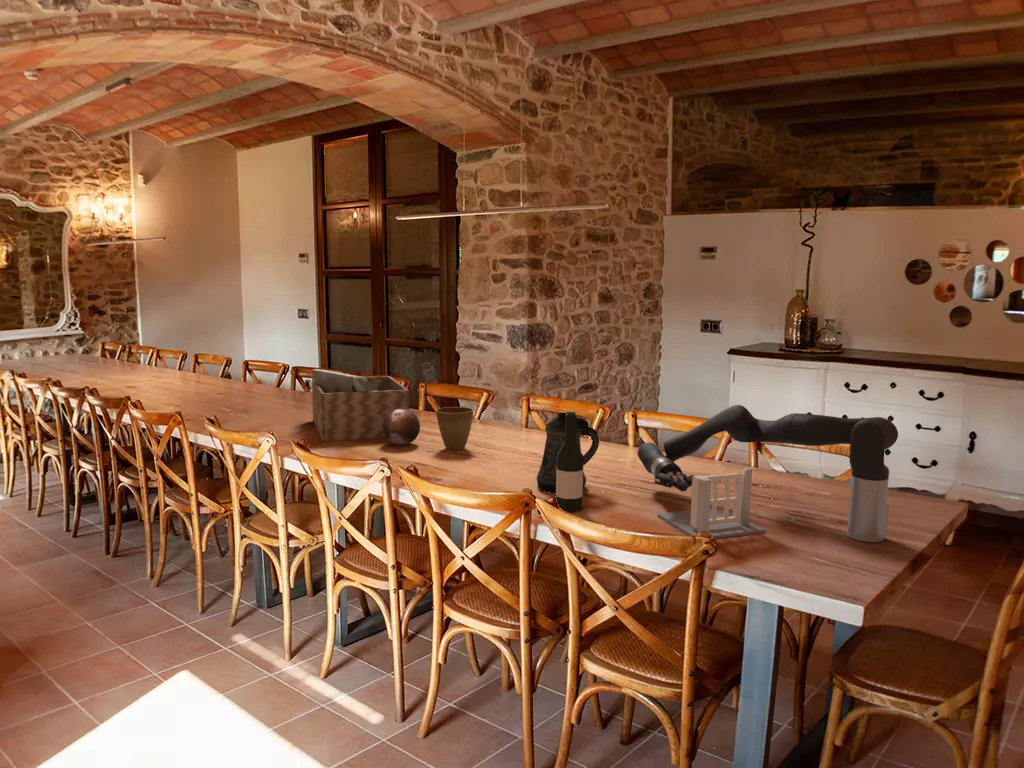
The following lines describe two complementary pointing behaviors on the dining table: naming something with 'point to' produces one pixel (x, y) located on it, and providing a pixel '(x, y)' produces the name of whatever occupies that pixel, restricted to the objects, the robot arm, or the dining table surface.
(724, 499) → the gate
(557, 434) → the beer stein
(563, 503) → the wine bottle
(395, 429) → the wooden sphere
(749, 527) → the gate frame
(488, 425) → the dining table surface
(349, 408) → the crate
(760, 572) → the dining table surface
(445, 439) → the plant pot
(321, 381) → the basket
